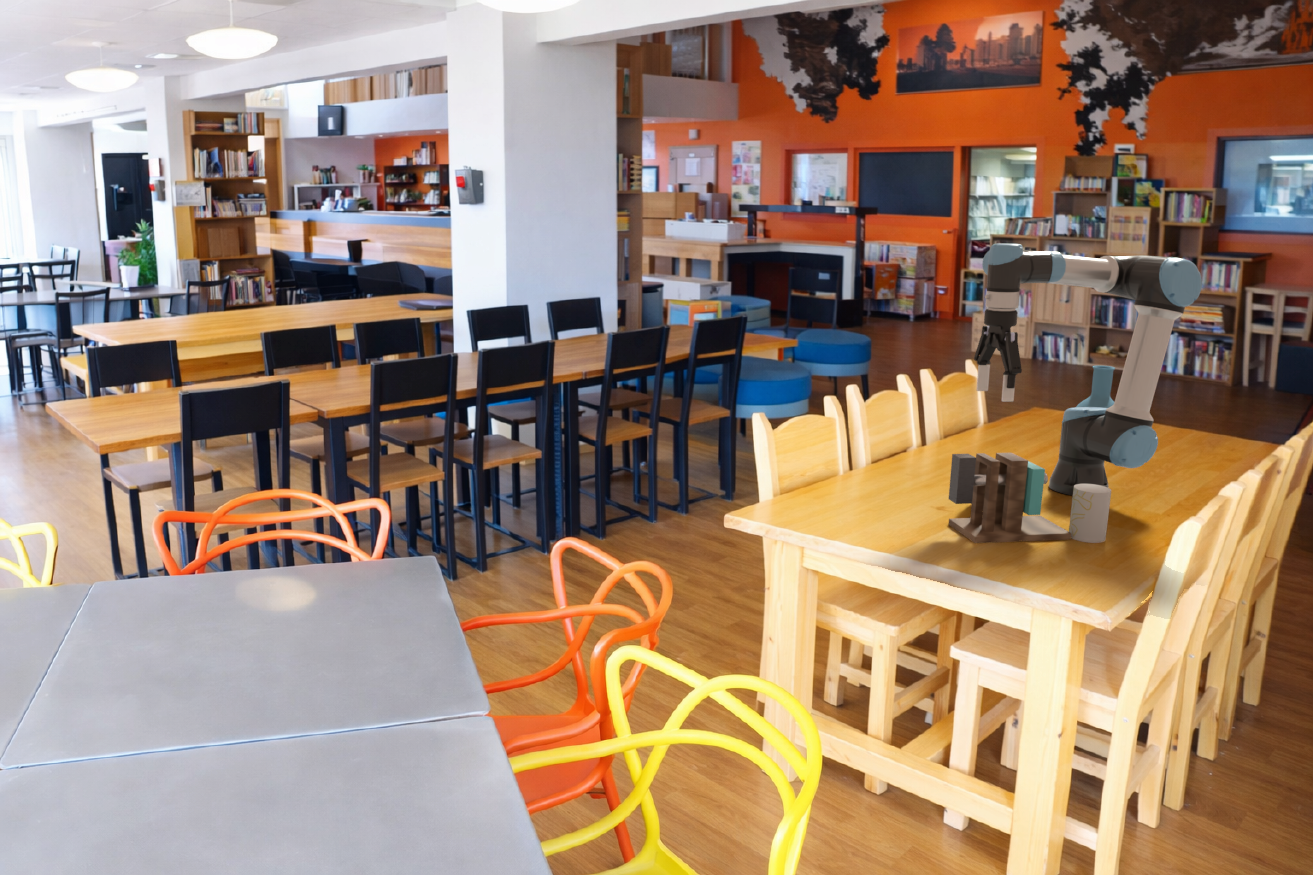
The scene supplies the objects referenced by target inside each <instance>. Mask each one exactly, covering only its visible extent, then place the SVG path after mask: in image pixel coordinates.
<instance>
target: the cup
mask: <svg viewBox="0 0 1313 875" xmlns="http://www.w3.org/2000/svg"><path fill="white" fill-rule="evenodd" d="M1111 496H1112V489H1111V488H1110V487H1109V486H1108V487H1105V486H1101V485H1095V484H1076V485H1074V489H1073V495H1072V497H1071V498H1072V499H1071V509H1070V519H1069V526H1068V532H1070V533H1071V540H1075V541H1078V542H1083V543H1090V544H1091V543H1092V544H1098V543H1104V542H1105V541H1106V537H1107V529H1108V522H1109V521H1108V520H1109V514H1110V513H1109V512H1110V505H1111Z"/></svg>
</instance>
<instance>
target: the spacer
mask: <svg viewBox="0 0 1313 875" xmlns="http://www.w3.org/2000/svg"><path fill="white" fill-rule="evenodd" d="M1045 473H1046V469H1045V468H1044V467H1043V466H1042V467H1041V466H1040V465H1038V464H1035V463H1034V462H1032V461H1030V460H1028V468H1027V478H1026V488H1025V497H1024V507H1023V513H1024V514H1026V516H1041V512H1042V502H1043V492H1044V485H1045V484H1044V475H1045Z"/></svg>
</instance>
